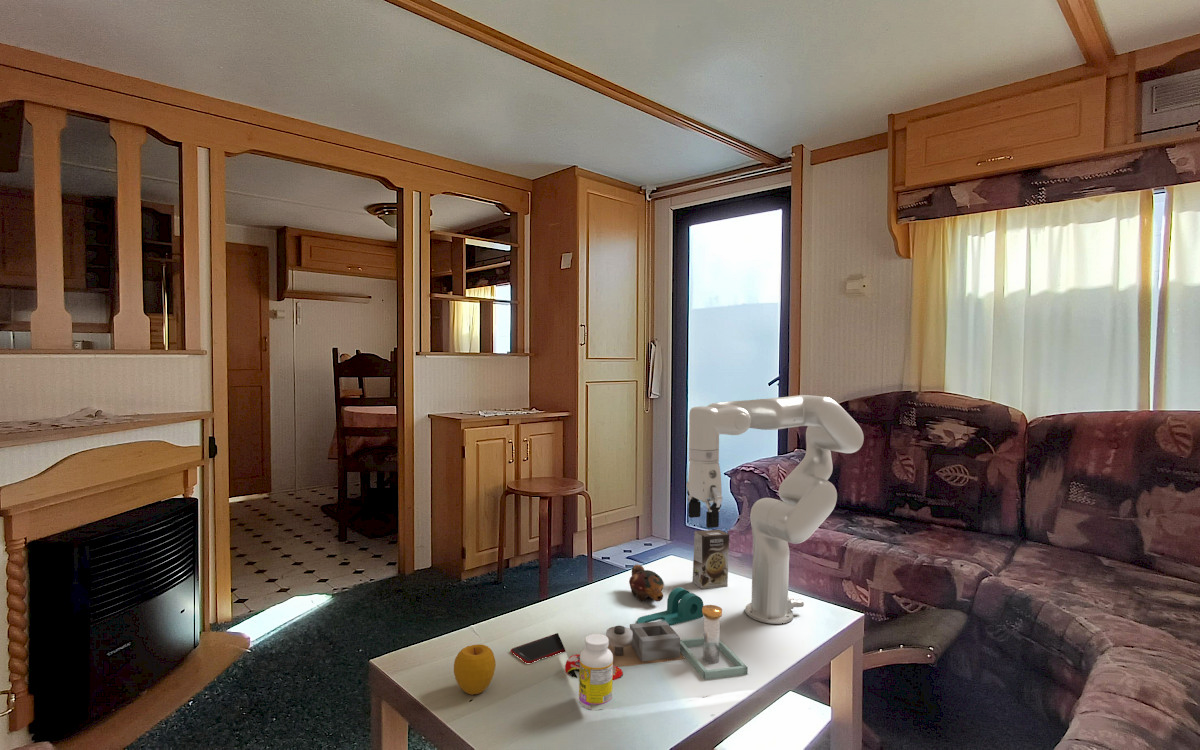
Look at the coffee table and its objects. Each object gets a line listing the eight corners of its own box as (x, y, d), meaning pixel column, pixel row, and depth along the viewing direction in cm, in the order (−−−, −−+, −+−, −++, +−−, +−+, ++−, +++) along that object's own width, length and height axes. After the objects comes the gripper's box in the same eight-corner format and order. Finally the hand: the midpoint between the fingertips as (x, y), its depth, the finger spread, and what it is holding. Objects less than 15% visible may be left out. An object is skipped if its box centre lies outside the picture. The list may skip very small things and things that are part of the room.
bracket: (686, 613, 164) (687, 585, 164) (703, 623, 158) (703, 593, 158) (631, 627, 155) (632, 597, 154) (647, 638, 149) (647, 606, 149)
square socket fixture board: (667, 643, 146) (668, 612, 146) (685, 665, 135) (686, 632, 135) (599, 650, 142) (600, 618, 141) (612, 674, 131) (613, 640, 131)
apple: (473, 674, 129) (474, 633, 129) (504, 686, 125) (505, 644, 125) (444, 693, 122) (445, 650, 122) (476, 706, 118) (477, 661, 118)
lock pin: (715, 656, 138) (716, 604, 138) (724, 666, 134) (725, 612, 134) (697, 658, 137) (699, 605, 137) (706, 668, 133) (707, 613, 133)
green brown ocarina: (643, 585, 183) (646, 560, 182) (674, 607, 170) (677, 579, 169) (617, 589, 178) (619, 563, 178) (646, 612, 165) (649, 583, 165)
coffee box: (702, 589, 181) (703, 536, 181) (691, 581, 187) (693, 530, 187) (728, 586, 184) (730, 534, 184) (717, 579, 190) (719, 528, 190)
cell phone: (579, 647, 143) (579, 643, 143) (527, 666, 134) (527, 662, 134) (559, 635, 149) (560, 632, 149) (508, 653, 140) (509, 649, 140)
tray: (715, 648, 144) (716, 635, 144) (747, 680, 130) (747, 667, 130) (677, 652, 141) (677, 640, 141) (704, 686, 127) (705, 672, 127)
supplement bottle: (577, 693, 123) (579, 631, 123) (610, 692, 124) (611, 630, 123) (579, 712, 116) (581, 647, 116) (613, 711, 117) (615, 646, 117)
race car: (627, 679, 130) (628, 661, 130) (616, 691, 125) (617, 672, 125) (573, 664, 136) (574, 646, 135) (561, 675, 131) (562, 656, 131)
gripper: (734, 460, 146) (733, 530, 147) (701, 449, 162) (700, 512, 163) (706, 462, 144) (706, 533, 144) (675, 450, 160) (675, 514, 161)
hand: (703, 522), depth 154 cm, fingers open, 9 cm apart
